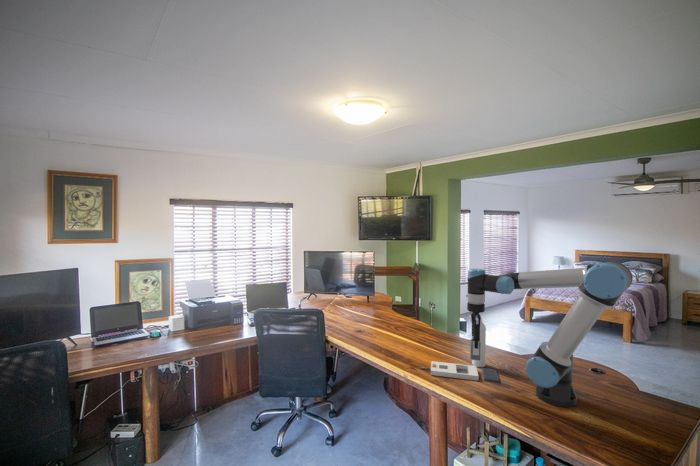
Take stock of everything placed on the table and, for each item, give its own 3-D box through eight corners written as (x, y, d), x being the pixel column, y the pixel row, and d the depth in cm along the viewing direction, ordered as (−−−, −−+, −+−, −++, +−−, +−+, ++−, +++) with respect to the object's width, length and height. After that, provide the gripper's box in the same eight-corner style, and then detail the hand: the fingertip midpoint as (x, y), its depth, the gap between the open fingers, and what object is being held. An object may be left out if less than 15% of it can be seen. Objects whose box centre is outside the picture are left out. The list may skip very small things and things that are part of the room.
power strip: (476, 370, 171) (476, 364, 171) (478, 380, 159) (478, 374, 159) (420, 364, 178) (420, 358, 178) (419, 373, 167) (419, 367, 166)
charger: (479, 357, 157) (479, 340, 157) (480, 360, 153) (480, 342, 153) (470, 356, 158) (470, 339, 158) (470, 359, 154) (471, 341, 154)
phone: (495, 372, 169) (495, 369, 169) (498, 383, 158) (498, 379, 158) (482, 371, 171) (482, 367, 171) (484, 381, 160) (484, 378, 160)
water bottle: (487, 365, 177) (488, 317, 177) (481, 368, 173) (482, 320, 172) (471, 360, 184) (472, 314, 183) (465, 363, 179) (466, 316, 179)
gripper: (466, 298, 165) (465, 346, 165) (468, 306, 148) (468, 359, 148) (482, 299, 163) (481, 347, 163) (487, 307, 146) (486, 360, 146)
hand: (475, 352), depth 156 cm, fingers closed on charger, 4 cm apart
